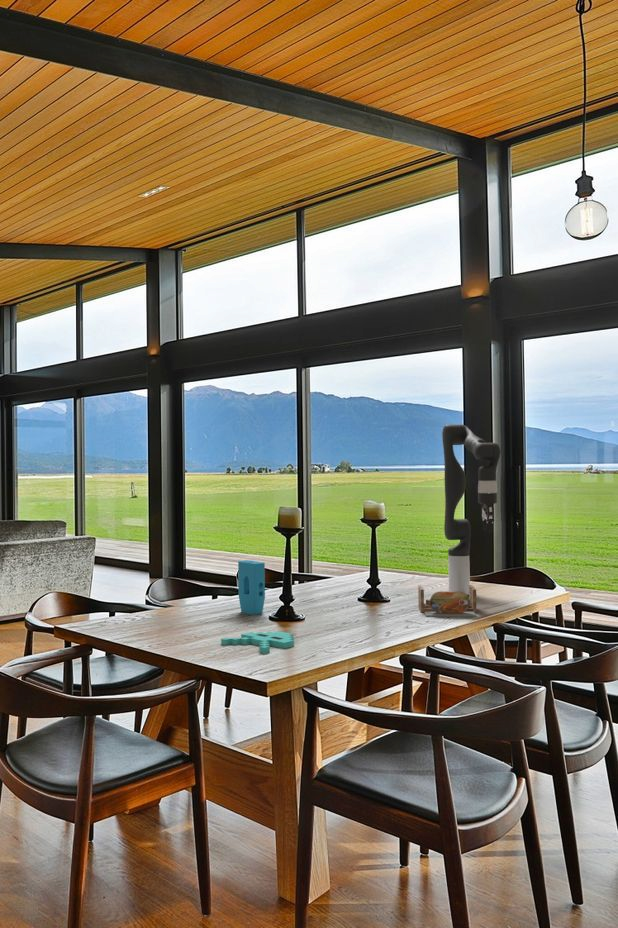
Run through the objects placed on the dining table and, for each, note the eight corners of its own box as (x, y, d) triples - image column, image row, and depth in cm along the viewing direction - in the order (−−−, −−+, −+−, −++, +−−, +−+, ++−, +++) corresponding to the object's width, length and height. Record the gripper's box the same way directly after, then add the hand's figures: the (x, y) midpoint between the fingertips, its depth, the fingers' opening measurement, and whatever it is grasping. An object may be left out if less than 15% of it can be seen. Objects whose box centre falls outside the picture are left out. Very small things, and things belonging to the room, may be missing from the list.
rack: (418, 607, 314) (418, 585, 314) (472, 607, 313) (471, 585, 313) (420, 612, 303) (420, 589, 303) (476, 612, 302) (476, 589, 302)
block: (237, 611, 310) (237, 561, 310) (247, 609, 313) (247, 560, 313) (255, 615, 301) (255, 563, 301) (266, 613, 304) (265, 562, 304)
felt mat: (424, 613, 302) (424, 611, 302) (473, 613, 301) (473, 611, 301) (426, 616, 295) (426, 615, 295) (476, 616, 294) (476, 615, 294)
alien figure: (264, 655, 240) (307, 643, 255) (264, 647, 240) (307, 636, 255) (221, 645, 254) (264, 635, 268) (221, 638, 254) (264, 628, 268)
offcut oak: (428, 603, 314) (428, 599, 314) (439, 604, 311) (439, 600, 311) (425, 604, 312) (425, 600, 312) (437, 605, 309) (437, 601, 309)
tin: (430, 613, 298) (429, 591, 298) (429, 612, 301) (429, 590, 301) (470, 613, 297) (469, 591, 297) (468, 612, 300) (468, 590, 300)
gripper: (475, 491, 324) (475, 530, 324) (481, 492, 310) (481, 533, 310) (493, 491, 324) (493, 530, 324) (500, 492, 310) (500, 533, 310)
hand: (487, 531), depth 317 cm, fingers open, 8 cm apart
